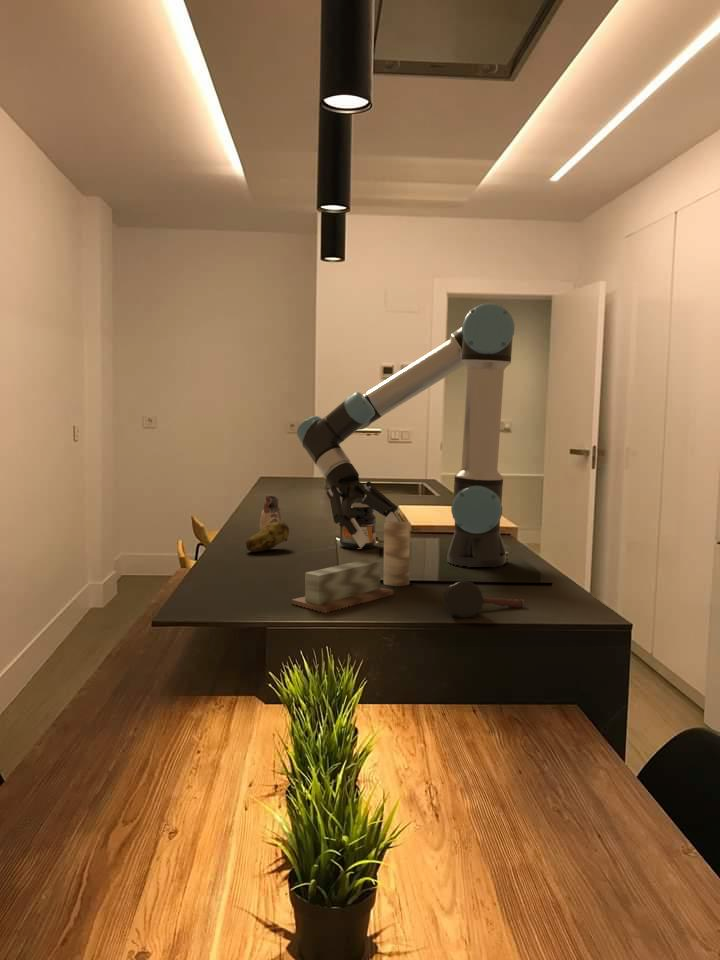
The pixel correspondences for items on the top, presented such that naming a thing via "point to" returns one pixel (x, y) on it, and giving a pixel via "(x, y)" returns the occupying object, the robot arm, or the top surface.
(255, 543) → the potato
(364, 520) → the supplement container
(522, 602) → the coffee pot
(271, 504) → the figurine
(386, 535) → the rod
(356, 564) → the stand
